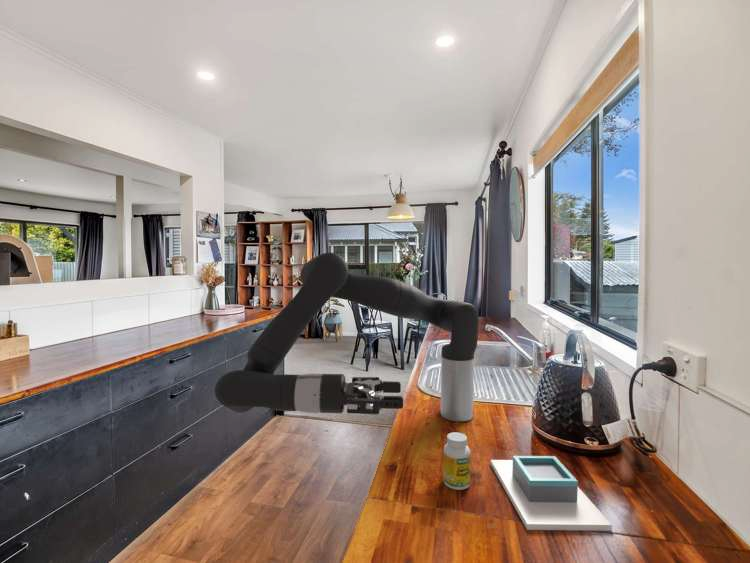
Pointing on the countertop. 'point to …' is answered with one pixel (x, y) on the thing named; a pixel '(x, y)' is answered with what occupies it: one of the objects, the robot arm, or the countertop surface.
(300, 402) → the robot arm
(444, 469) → the supplement bottle
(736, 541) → the countertop surface
